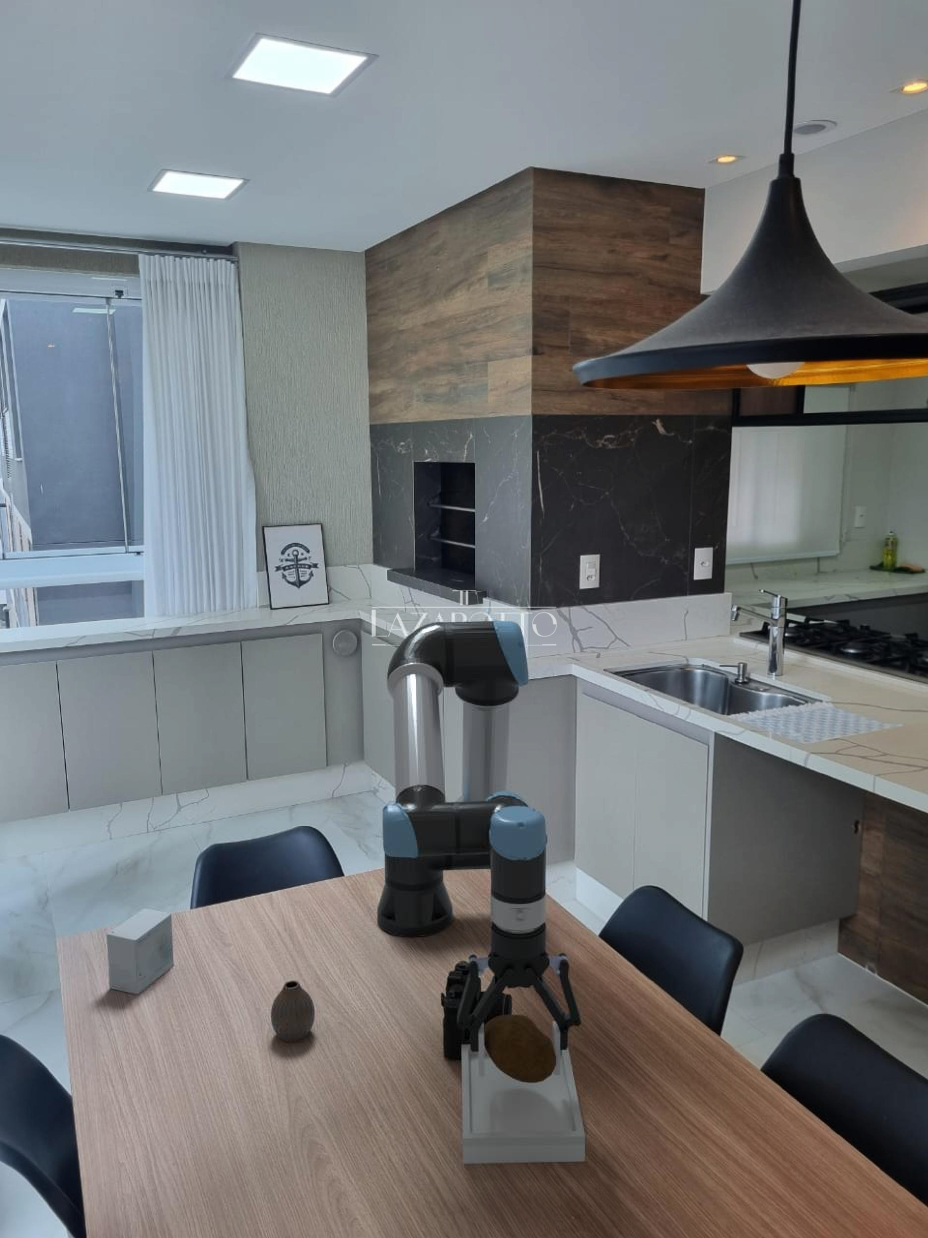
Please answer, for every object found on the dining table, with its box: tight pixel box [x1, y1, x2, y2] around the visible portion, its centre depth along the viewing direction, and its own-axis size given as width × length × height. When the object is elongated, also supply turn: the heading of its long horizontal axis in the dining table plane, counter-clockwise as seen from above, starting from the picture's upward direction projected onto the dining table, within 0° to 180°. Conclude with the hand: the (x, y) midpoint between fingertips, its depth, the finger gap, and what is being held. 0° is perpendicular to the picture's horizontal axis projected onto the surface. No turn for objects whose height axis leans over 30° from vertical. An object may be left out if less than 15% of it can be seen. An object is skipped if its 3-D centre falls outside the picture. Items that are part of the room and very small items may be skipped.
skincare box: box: [106, 908, 175, 995], centre depth 169 cm, size 10×6×10 cm, turn 161°
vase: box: [270, 980, 316, 1043], centre depth 152 cm, size 7×7×9 cm
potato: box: [484, 1014, 556, 1083], centre depth 132 cm, size 8×12×8 cm, turn 52°
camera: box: [440, 960, 513, 1062], centre depth 151 cm, size 14×11×10 cm
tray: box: [461, 1042, 586, 1165], centre depth 134 cm, size 20×16×4 cm
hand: (518, 1070), depth 133 cm, fingers closed on potato, 10 cm apart
